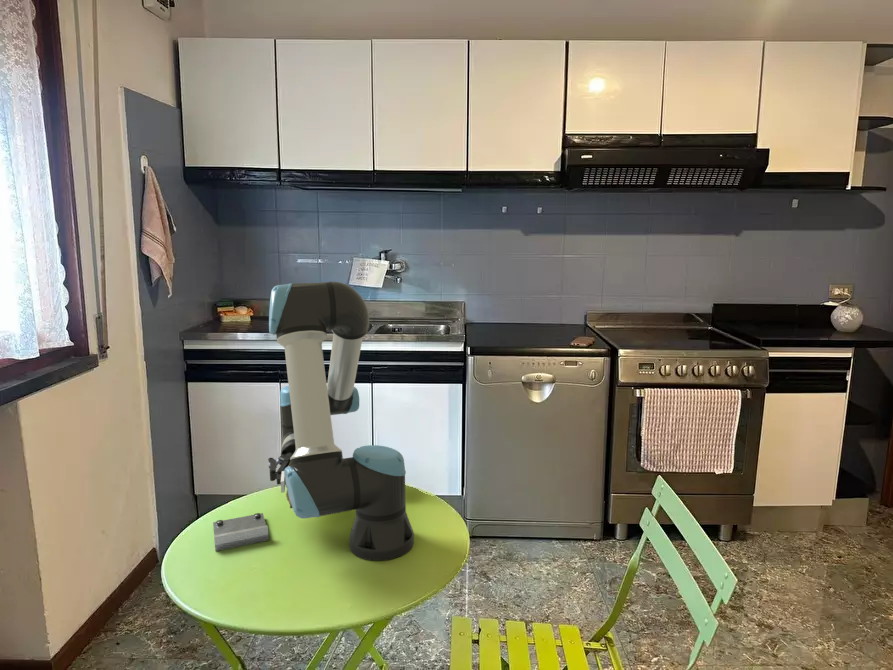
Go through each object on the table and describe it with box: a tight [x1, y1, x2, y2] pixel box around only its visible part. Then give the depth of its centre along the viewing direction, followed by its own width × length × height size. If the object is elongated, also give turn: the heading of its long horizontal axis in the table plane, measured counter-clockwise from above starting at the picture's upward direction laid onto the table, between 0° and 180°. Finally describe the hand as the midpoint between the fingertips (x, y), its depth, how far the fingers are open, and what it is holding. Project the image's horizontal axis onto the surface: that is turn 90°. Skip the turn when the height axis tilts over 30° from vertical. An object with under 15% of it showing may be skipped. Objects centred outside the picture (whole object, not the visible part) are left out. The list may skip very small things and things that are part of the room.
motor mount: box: [212, 512, 270, 552], centre depth 147 cm, size 12×12×4 cm
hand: (293, 485), depth 141 cm, fingers closed on rock, 4 cm apart
